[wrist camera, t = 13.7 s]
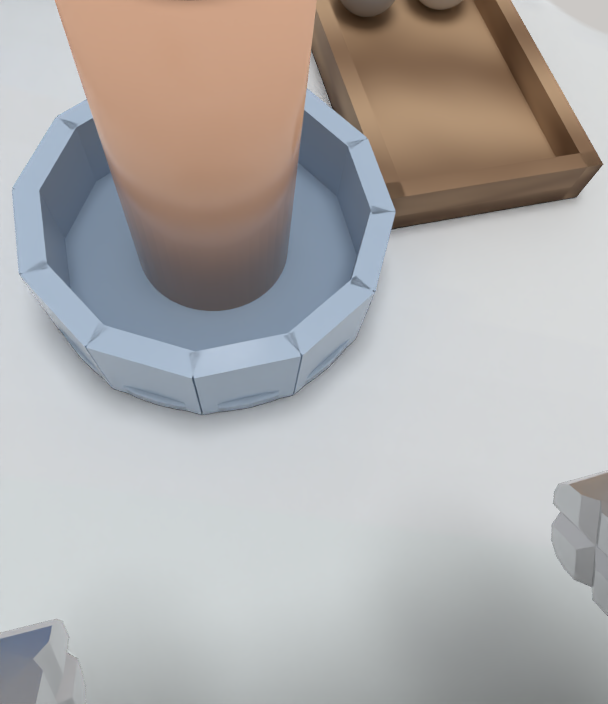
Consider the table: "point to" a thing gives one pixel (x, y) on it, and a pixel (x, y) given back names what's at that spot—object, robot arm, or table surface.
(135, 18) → the jar
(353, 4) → the pebble
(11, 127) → the table surface
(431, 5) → the pebble
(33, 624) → the robot arm
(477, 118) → the tray
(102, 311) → the bowl
